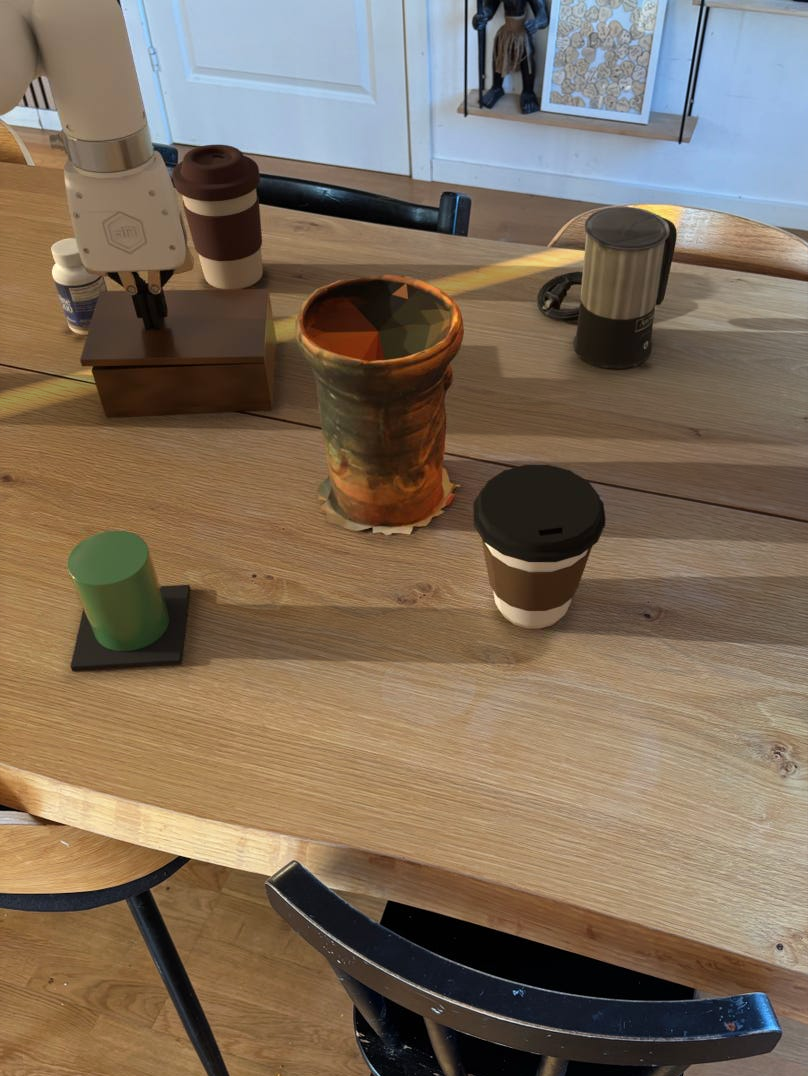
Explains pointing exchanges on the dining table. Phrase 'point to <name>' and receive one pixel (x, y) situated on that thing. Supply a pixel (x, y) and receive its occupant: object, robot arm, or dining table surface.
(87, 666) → the mat
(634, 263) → the milk frother
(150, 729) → the dining table surface
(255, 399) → the chest
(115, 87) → the robot arm
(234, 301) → the lid
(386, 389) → the vessel
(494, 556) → the coffee cup
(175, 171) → the coffee cup
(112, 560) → the green cylinder
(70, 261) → the pill bottle
